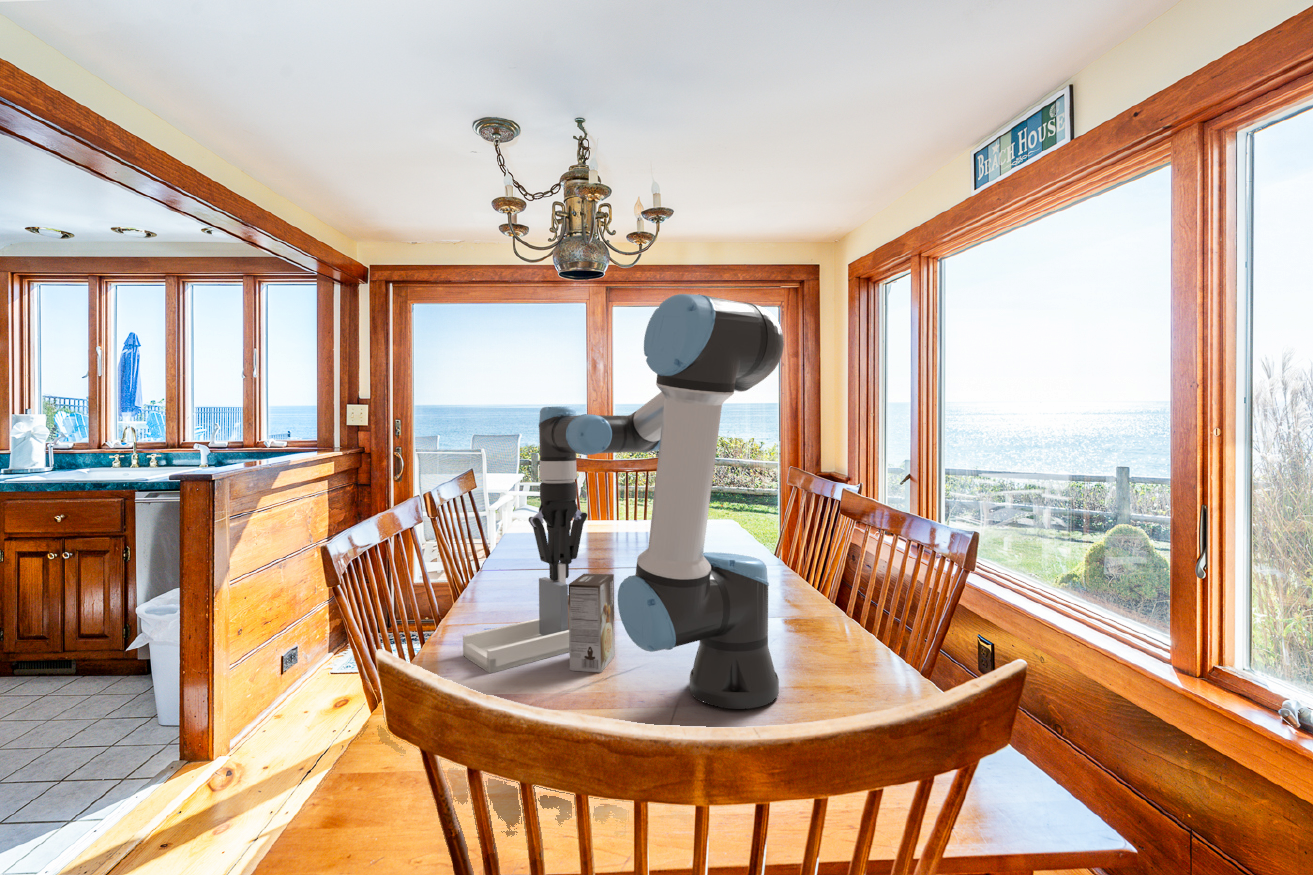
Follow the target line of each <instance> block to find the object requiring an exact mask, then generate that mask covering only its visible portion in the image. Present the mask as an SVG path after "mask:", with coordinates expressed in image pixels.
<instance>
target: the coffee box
mask: <svg viewBox="0 0 1313 875" xmlns="http://www.w3.org/2000/svg"><path fill="white" fill-rule="evenodd" d="M614 577H615V575H614V574H612V573H582V574H581V575H579V577H577V578H576V579H575V580H574V579H573V581H571V582H570V583H568V584H567V585H568V595H569V652H568V653H569V654H568V655H569V656H568V657H569V670H570V671H573V672H574V671H575V672H586V673H587V672H588V673H602V672H604V670H605V668H606V667H607V666H608V665H609V664H610V662H611V661H612V659H613V658H614V657H615V655H616V653H615V652H616V651H615V648H616V647H615V646H616V645H615V644H616V643H615V634H616V633H615V584H614V583H615V578H614Z"/></svg>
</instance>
